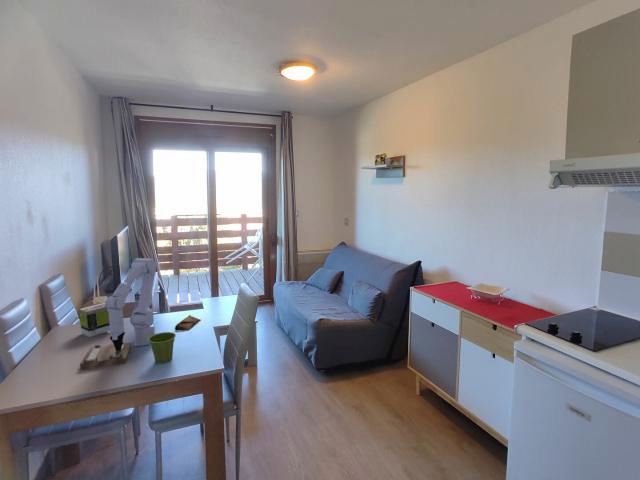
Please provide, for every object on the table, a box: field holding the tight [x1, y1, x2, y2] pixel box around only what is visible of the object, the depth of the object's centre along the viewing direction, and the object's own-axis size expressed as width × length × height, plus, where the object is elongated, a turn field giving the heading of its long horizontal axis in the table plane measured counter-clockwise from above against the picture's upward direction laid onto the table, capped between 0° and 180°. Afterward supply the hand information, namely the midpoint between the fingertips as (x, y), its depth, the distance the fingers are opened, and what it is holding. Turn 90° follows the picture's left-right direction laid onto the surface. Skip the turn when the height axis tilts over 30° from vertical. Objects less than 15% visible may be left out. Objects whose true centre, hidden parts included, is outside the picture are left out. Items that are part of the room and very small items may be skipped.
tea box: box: [78, 302, 110, 338], centre depth 202 cm, size 15×10×15 cm, turn 144°
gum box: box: [134, 287, 154, 325], centre depth 207 cm, size 20×5×23 cm, turn 13°
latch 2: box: [112, 344, 124, 358], centre depth 170 cm, size 3×13×1 cm, turn 20°
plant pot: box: [148, 331, 177, 364], centre depth 167 cm, size 12×12×11 cm
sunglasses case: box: [174, 314, 202, 332], centre depth 212 cm, size 18×7×7 cm
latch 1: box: [87, 347, 101, 361], centre depth 167 cm, size 3×13×1 cm, turn 20°
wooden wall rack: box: [79, 342, 133, 371], centre depth 170 cm, size 18×18×5 cm
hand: (118, 348), depth 171 cm, fingers closed
